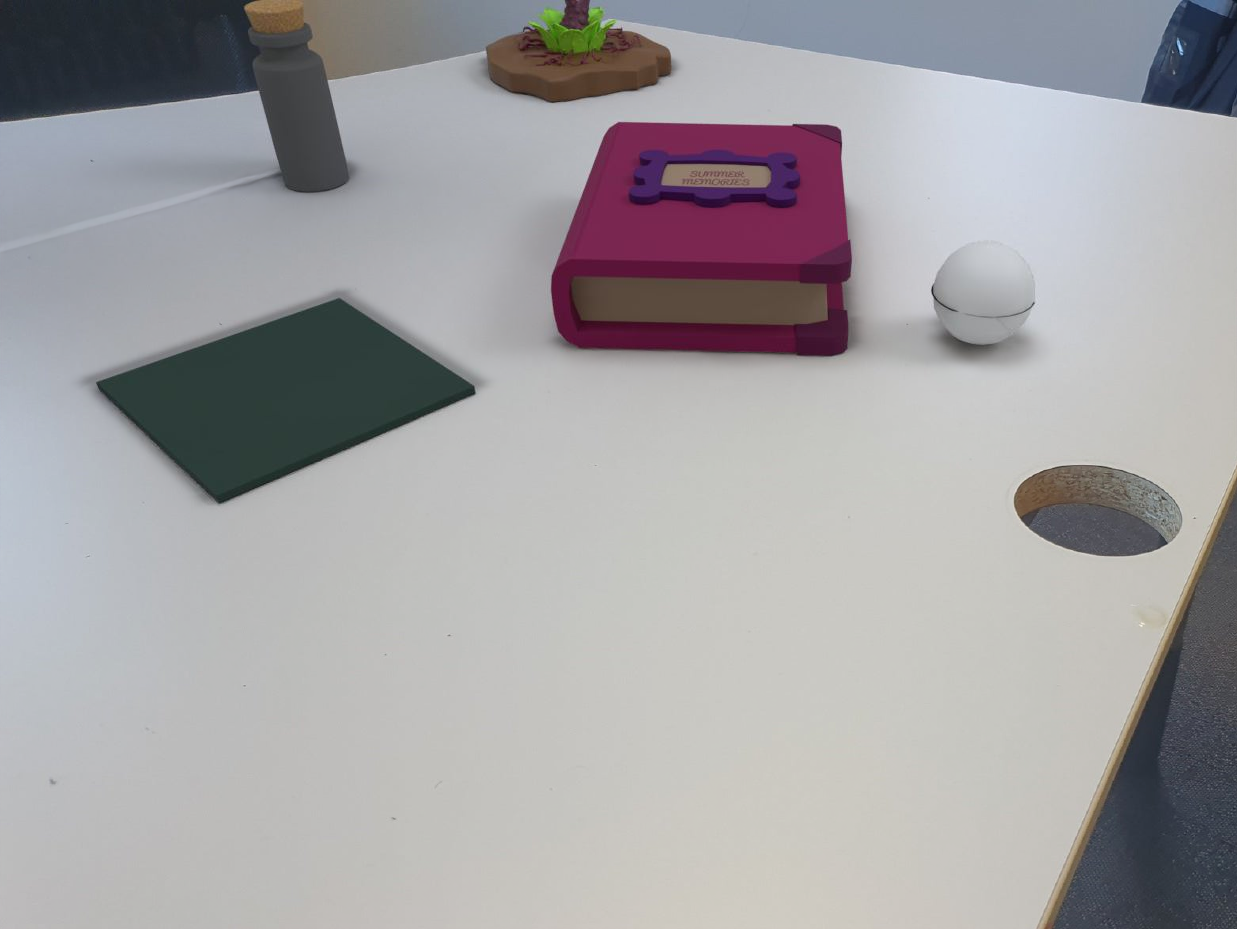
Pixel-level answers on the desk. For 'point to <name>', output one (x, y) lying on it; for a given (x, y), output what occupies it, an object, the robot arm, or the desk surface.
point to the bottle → (296, 97)
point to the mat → (281, 395)
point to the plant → (575, 56)
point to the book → (709, 241)
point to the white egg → (983, 292)
